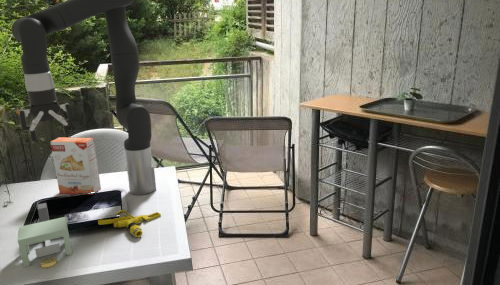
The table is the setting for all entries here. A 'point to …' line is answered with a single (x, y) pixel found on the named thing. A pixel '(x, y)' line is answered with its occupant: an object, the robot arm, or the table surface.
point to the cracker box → (75, 165)
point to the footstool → (42, 235)
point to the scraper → (48, 248)
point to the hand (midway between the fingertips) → (51, 139)
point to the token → (48, 262)
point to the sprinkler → (129, 221)
